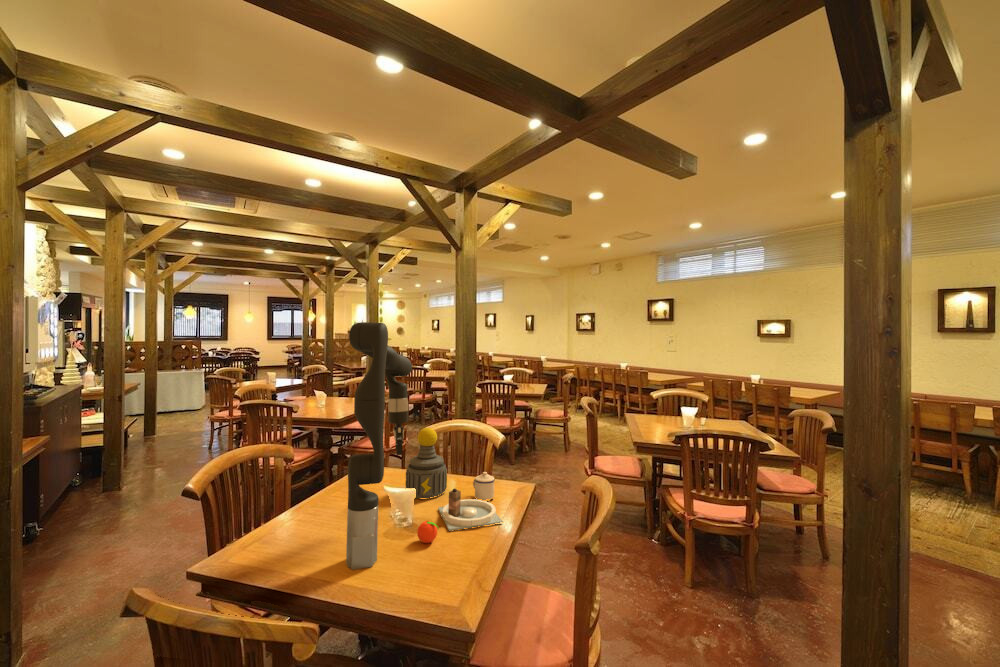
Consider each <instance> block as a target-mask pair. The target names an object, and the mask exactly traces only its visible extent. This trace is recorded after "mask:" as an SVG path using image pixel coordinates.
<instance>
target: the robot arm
mask: <svg viewBox="0 0 1000 667" xmlns="http://www.w3.org/2000/svg"><path fill="white" fill-rule="evenodd" d="M387 327H388V326H387V325H386V323H384V322H371V321H370V322H368V321H367V322H362V321H360V322H356V323H354V324H352V325H351V327H350V329H349V334H348V340H349V344H350V345H351V348H353V349H354V350H356V351H358V352H360V353H362V354H364V355H366V356H368V357H370V358H372V359H371V364H370V367H369V368H368V371H367V372H366V374H365V375H364V377H363V378H362V380H361V381H360V382H359V384H358V386H357V388H356V389H355V393H354V405H353V406H354V407H353V408H354V409H353V410H354V411H353V413H354V416H355V419H356V420H357V422H358V424H359V425H360V426H361V428H362V429H363V431H364V432H365V433H366V435H367V437H368V438H369V441H370V443H371V446H372V450H373V453H363V454H352V455H351V456H350V457H349V459H348V462H347V486H348V490H347V492H348V493H347V495H348V496H347V519H346V520H347V521H346V546H345V548H346V551H345V552H346V554H345V555H346V560H345V561H346V562H345V565H346V566H347V567H348V568H349V569H350V571H351V570H359V569H365V568H372V567H373V566H374V564H376V562H377V560H378V533H379V530H378V528H379V521H378V520H379V496H378V494H377V493H376V492H373V491H371V490H367V489H365V488H363V487H361V486H363V485H374V484H375V485H376V484H377V485H378V484H380V483H381V482H382V481H383V479H384V474H385V454H384V452H385V449H384V446H385V445H384V427H385V426H384V423H385V422H384V421H385V407H386V406H385V404H386V403H385V402H386V398H385V397H386V393H385V392H386V382H387V386H388V403H387V404H388V406H387V407H388V408H387V409H388V412H387V413H388V417H387V419H388V423H389V424H393V427H392V429H393V439H394V443H395V451H396V452H395V453H396V455H397V456H402V455H403V444H404V437H405V435H404V433H405V427H404V426H403V424H404V423H408V422H409V400H408V384H407V383H405V382H402V381H398V380H397V379H396V377H398V378H399V377H407V376H409V375H411V373H412V370H413V365H412V362H411V360H410V359H409V358H408V357H406V356H404V355H402V354H399V353H398V352H397V351H396V350H395V349H394V348H393V347H391V346H389V345H388V343H389V330H388V328H387Z"/></svg>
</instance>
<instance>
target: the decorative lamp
mask: <svg viewBox="0 0 1000 667" xmlns="http://www.w3.org/2000/svg"><path fill="white" fill-rule="evenodd" d="M417 434H418V435H417V442H418V444H419V449H418V453H417V455H415V456H413V457H411V458H410V460H409V464H408V465H407V469H406V470H405V484H404V485H405V489H406V488H415V489H416V498H430V497H434V496H438V495H440V494H442V493H443V492H444V491H445V492H446V490H447V487H448V484H447V483H448V469H447V466H446V464H445V459H444V458H443V457H442V456H441V455H439V454H437V453H436V448H435V444H436V443H437V440H438V434H437V432H436V431H435V429H433V428H431V427H423V428H422V429H421V430H420V431H419V432H418V433H417ZM442 495H443V494H442Z"/></svg>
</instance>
